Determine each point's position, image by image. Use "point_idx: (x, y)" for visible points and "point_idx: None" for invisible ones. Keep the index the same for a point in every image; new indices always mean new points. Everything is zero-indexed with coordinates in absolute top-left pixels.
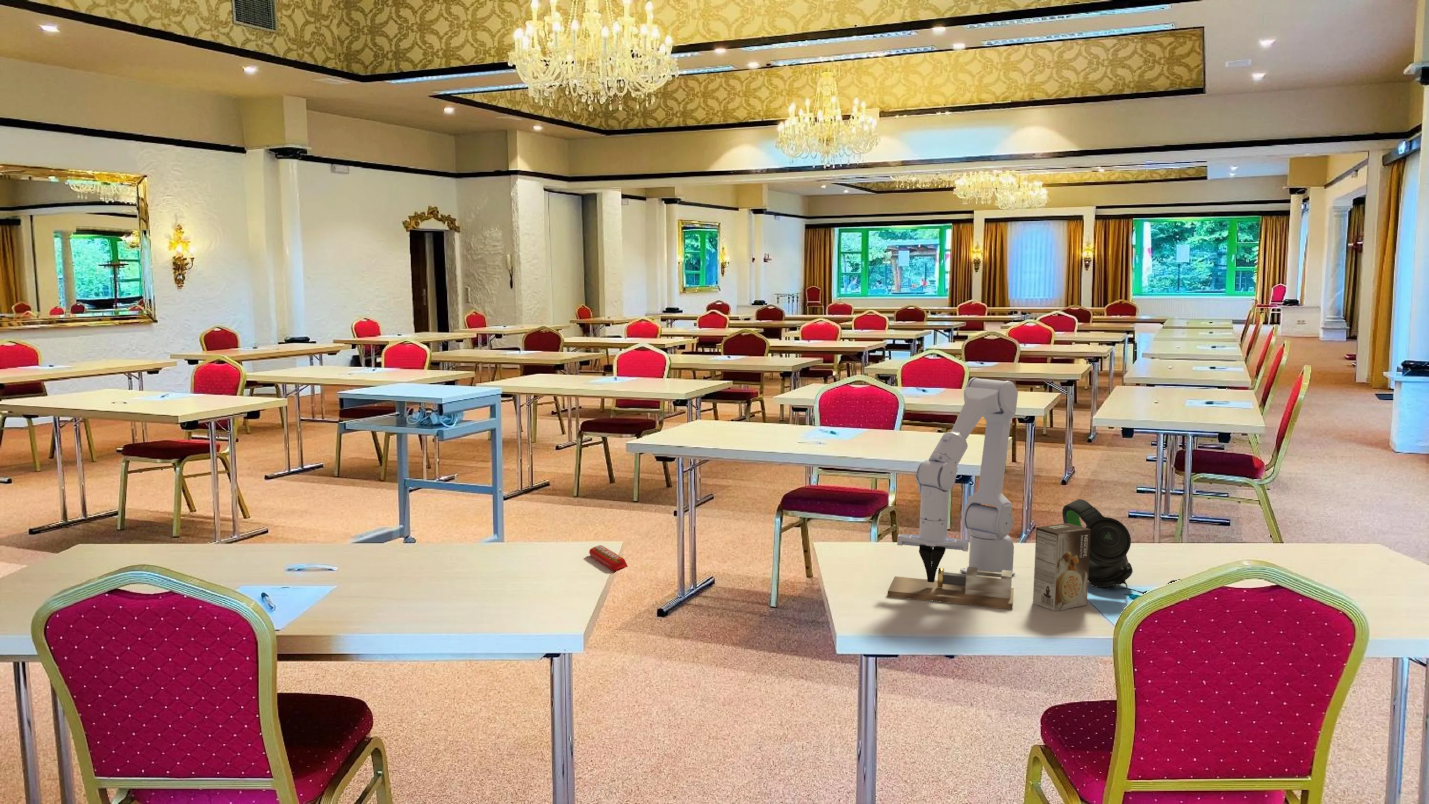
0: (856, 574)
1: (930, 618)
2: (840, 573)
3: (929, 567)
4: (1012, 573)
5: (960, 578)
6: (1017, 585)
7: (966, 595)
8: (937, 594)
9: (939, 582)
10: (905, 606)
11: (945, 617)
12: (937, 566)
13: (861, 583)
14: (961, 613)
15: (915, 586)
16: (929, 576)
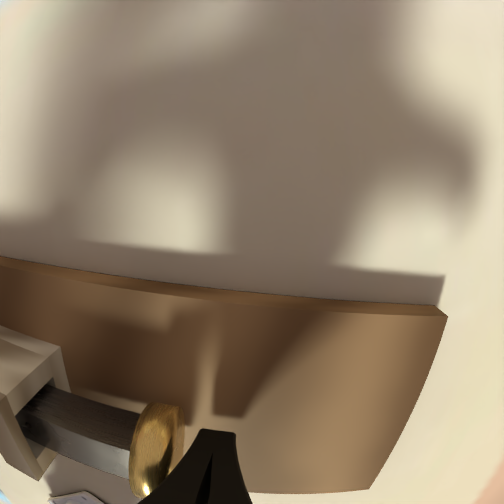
0: (456, 474)
1: (221, 5)
2: (489, 460)
3: (215, 494)
4: (50, 500)
5: (54, 414)
6: None
7: (51, 326)
8: (176, 322)
9: (162, 410)
10: (359, 156)
11: (147, 40)
12: (152, 492)
13: (476, 417)
14: (73, 127)
15: (299, 421)
16: (221, 450)
